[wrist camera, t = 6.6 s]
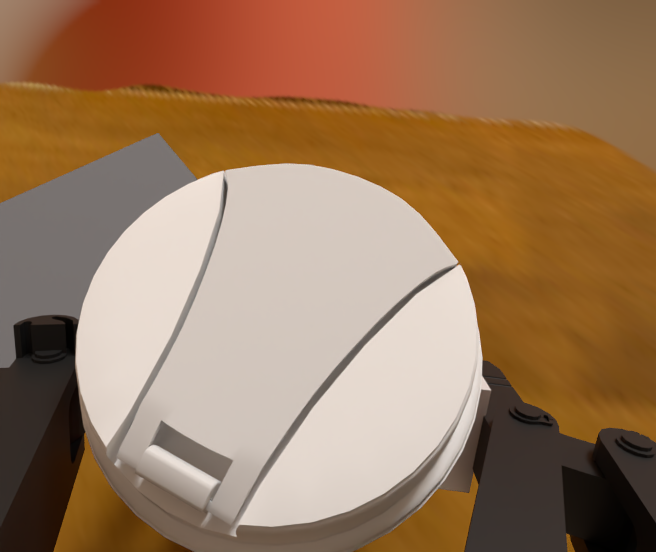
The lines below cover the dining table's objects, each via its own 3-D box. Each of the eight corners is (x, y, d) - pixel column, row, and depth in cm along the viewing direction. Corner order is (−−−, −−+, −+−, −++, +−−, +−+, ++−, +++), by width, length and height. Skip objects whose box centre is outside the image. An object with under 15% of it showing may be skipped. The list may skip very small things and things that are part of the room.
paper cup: (343, 584, 17) (417, 716, 5) (179, 488, 18) (-78, 404, 6) (411, 402, 20) (551, 217, 8) (270, 335, 22) (219, 98, 10)
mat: (160, 139, 29) (158, 132, 29) (269, 269, 24) (268, 264, 24) (-105, 260, 24) (-114, 254, 23) (-37, 459, 19) (-47, 458, 18)
